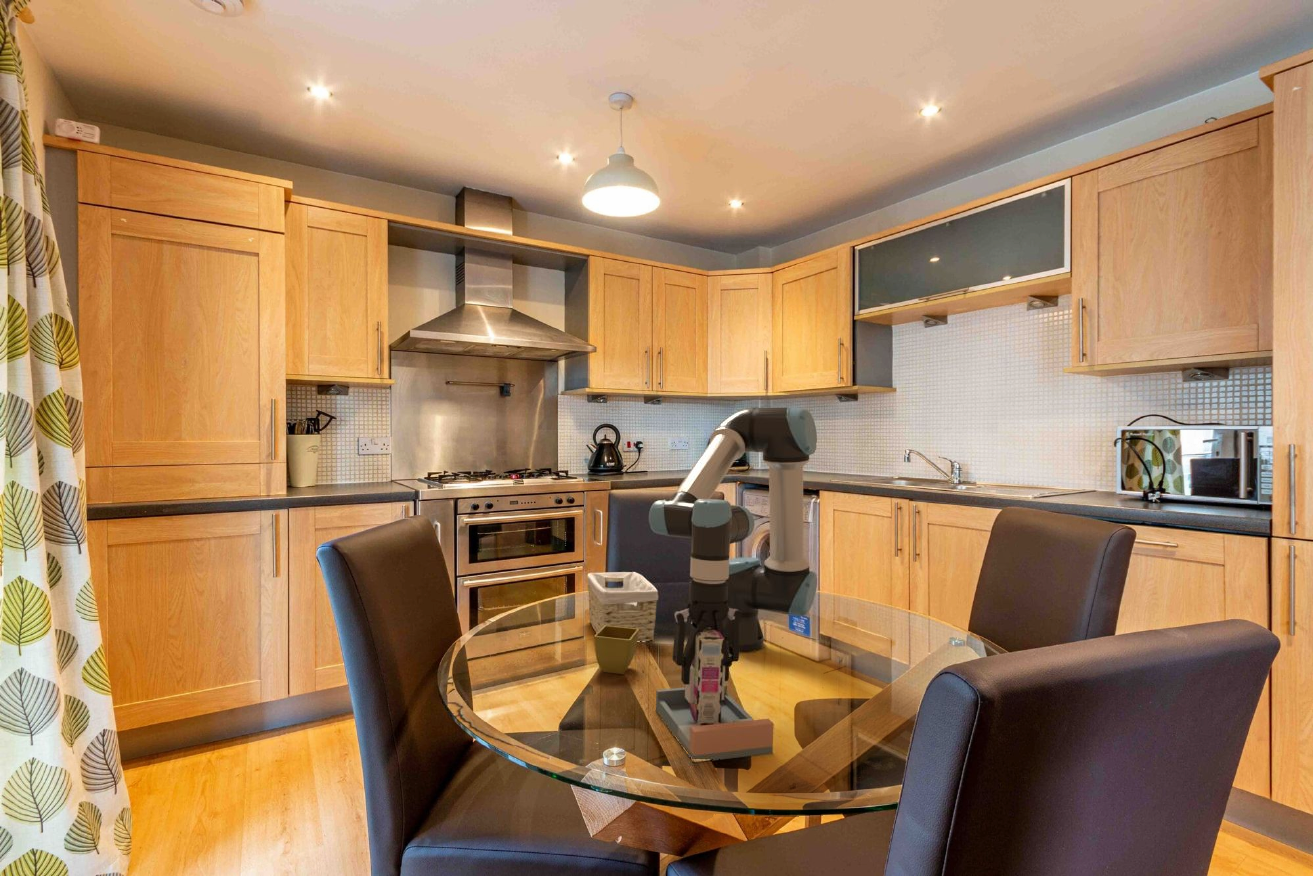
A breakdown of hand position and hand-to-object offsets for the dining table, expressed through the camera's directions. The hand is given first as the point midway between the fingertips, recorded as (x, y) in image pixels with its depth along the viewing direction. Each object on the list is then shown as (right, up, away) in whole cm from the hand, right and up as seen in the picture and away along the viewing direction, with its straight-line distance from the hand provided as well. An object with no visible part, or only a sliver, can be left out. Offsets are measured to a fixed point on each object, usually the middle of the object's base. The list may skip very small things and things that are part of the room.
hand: (704, 698), depth 121 cm
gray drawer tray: (+1, -5, -3) cm, 6 cm away
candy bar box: (0, -3, 0) cm, 3 cm away
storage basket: (-20, -5, +56) cm, 60 cm away
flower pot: (-19, -4, +26) cm, 32 cm away
